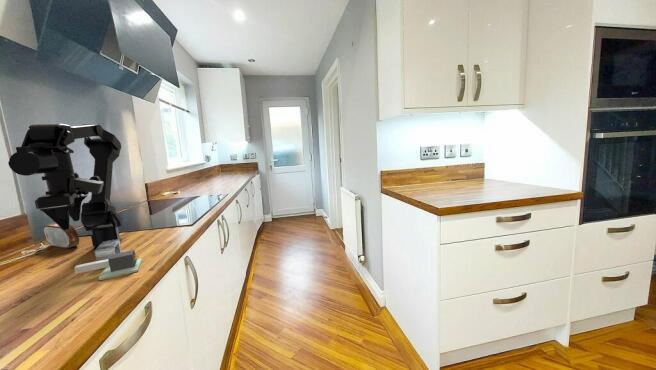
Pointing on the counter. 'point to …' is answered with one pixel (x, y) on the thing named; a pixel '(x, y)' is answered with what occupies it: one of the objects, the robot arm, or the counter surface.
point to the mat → (120, 271)
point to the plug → (111, 262)
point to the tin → (61, 236)
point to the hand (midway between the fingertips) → (71, 225)
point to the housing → (107, 249)
